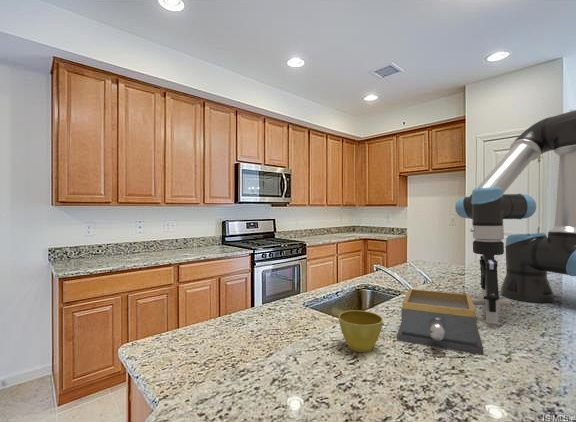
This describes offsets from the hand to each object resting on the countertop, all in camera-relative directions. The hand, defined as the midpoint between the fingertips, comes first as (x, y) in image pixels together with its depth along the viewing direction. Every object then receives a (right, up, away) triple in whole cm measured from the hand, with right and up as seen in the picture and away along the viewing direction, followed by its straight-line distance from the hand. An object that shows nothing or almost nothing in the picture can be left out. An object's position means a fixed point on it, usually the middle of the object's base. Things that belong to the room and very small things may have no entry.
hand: (489, 316), depth 88 cm
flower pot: (-41, -2, -17) cm, 45 cm away
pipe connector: (0, -1, 0) cm, 1 cm away
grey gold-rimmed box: (-20, -1, -11) cm, 23 cm away
